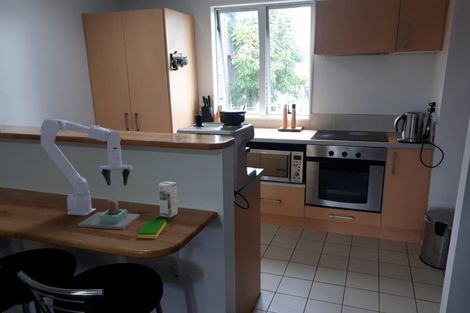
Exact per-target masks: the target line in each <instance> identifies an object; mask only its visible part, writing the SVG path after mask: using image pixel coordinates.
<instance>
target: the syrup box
mask: <svg viewBox="0 0 470 313" xmlns="http://www.w3.org/2000/svg"><path fill="white" fill-rule="evenodd" d="M177 190H178V188H177V182H173V181H167V180H166V181H162V182H160V183H158V200H159V216H160V217H165V218H172V217H174V216H176V215H177V214H178V212H179V209H178V191H177Z"/></svg>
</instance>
